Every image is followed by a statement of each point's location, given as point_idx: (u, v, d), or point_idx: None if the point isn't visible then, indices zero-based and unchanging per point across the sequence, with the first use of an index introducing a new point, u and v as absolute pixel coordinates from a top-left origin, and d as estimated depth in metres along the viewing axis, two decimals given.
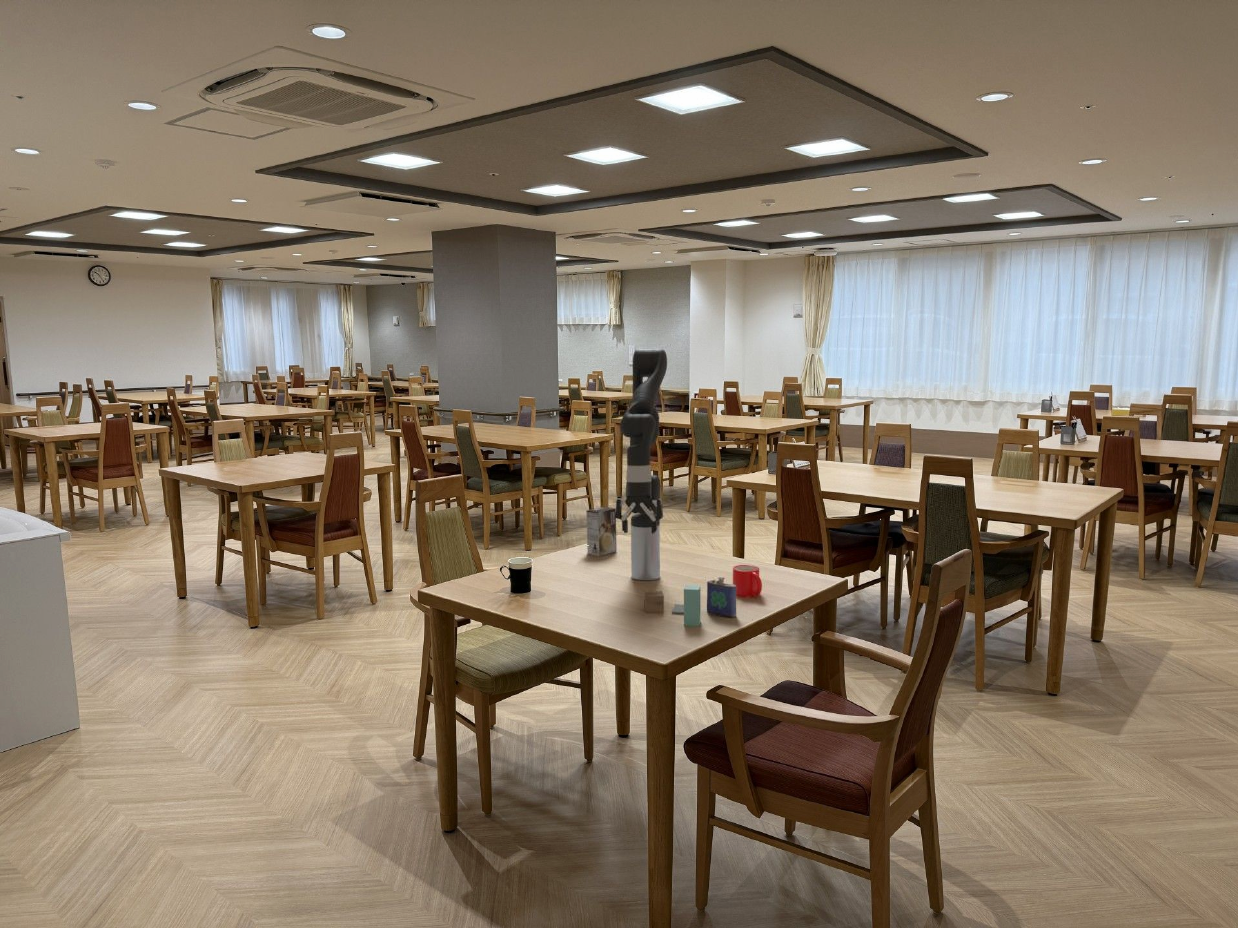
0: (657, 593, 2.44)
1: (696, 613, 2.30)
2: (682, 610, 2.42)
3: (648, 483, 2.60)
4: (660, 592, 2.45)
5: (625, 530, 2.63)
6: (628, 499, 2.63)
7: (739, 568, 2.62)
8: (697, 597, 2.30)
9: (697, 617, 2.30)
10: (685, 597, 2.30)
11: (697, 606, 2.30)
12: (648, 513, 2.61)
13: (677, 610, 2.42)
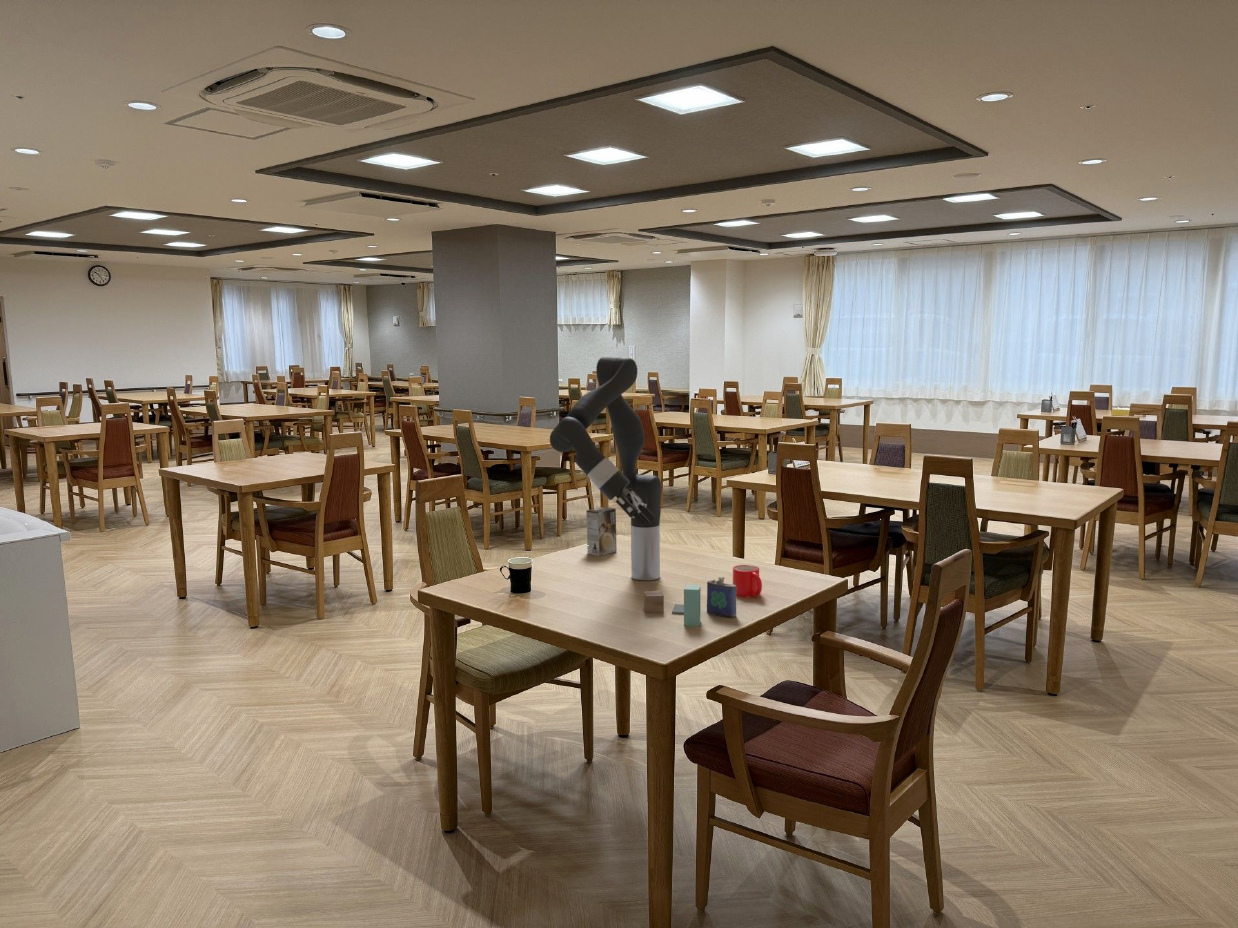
0: (657, 593, 2.44)
1: (696, 613, 2.30)
2: (682, 610, 2.42)
3: (603, 487, 2.30)
4: (660, 592, 2.45)
5: None
6: None
7: (739, 568, 2.62)
8: (697, 597, 2.30)
9: (697, 617, 2.30)
10: (685, 597, 2.30)
11: (697, 606, 2.30)
12: None
13: (677, 610, 2.42)
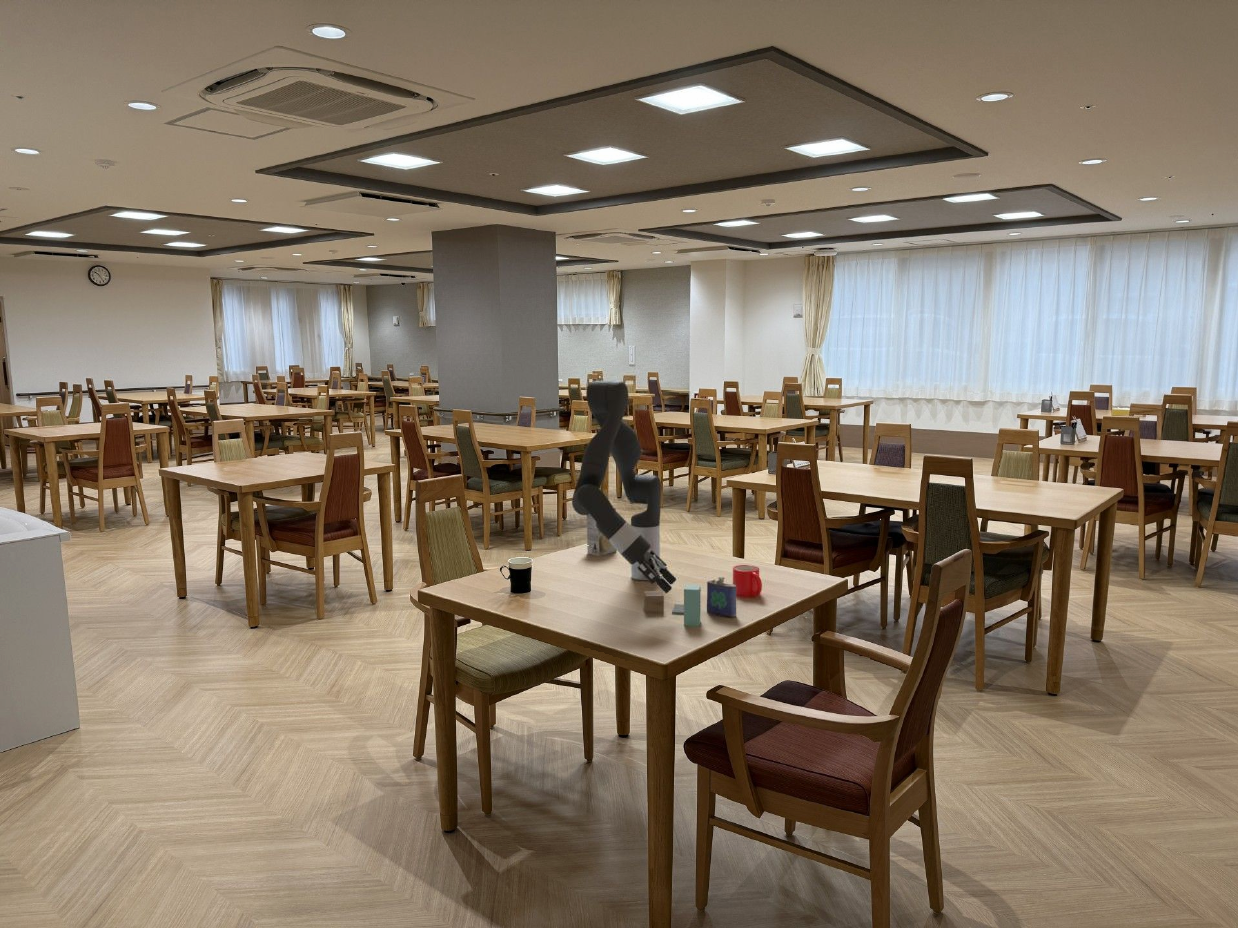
0: (657, 593, 2.44)
1: (696, 613, 2.30)
2: (682, 610, 2.42)
3: (625, 552, 2.30)
4: (660, 592, 2.45)
5: (668, 582, 2.37)
6: None
7: (739, 568, 2.62)
8: (697, 597, 2.30)
9: (697, 617, 2.30)
10: (685, 597, 2.30)
11: (697, 606, 2.30)
12: None
13: (677, 610, 2.42)
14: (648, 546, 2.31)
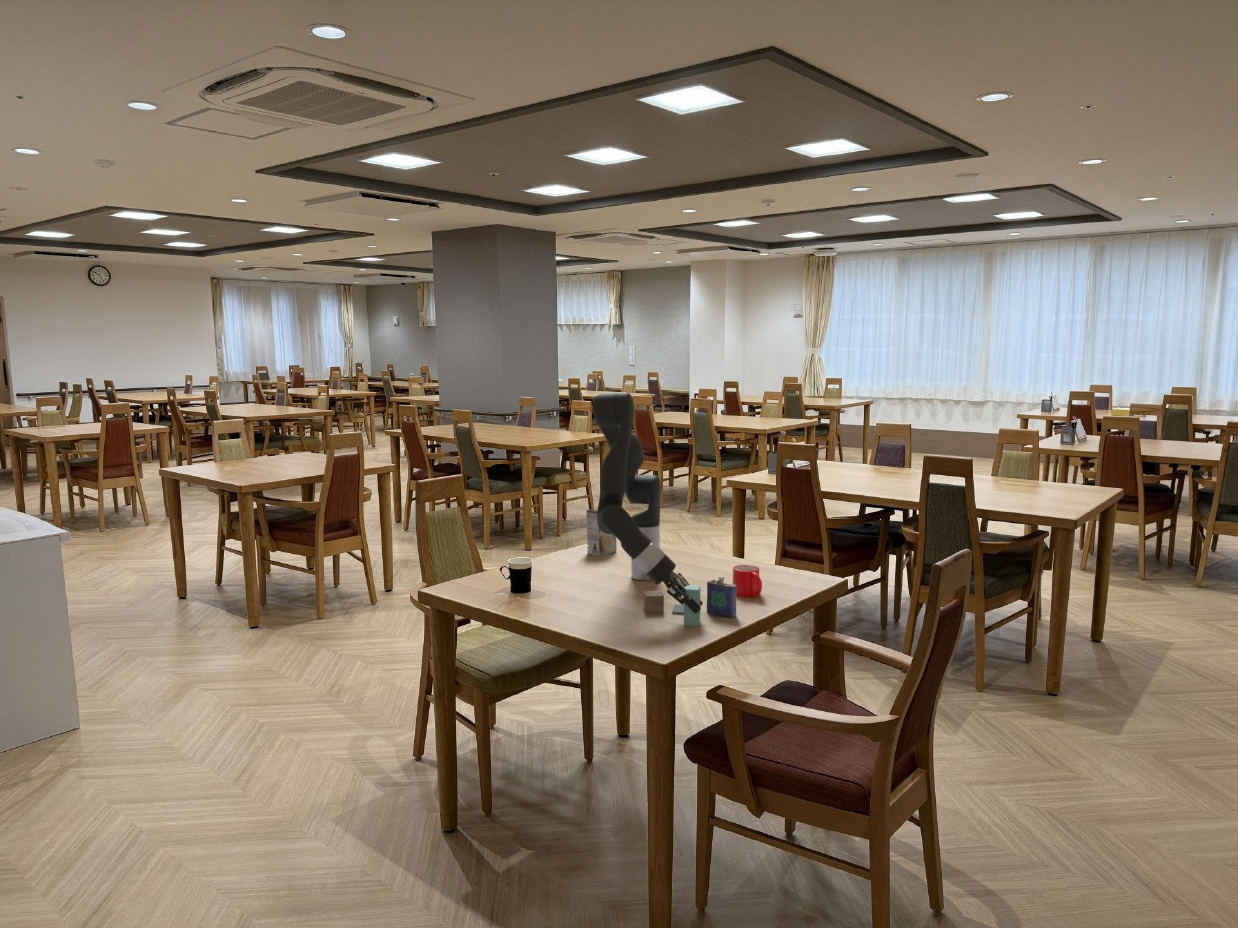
0: (657, 593, 2.44)
1: (696, 613, 2.30)
2: (682, 610, 2.42)
3: (650, 572, 2.30)
4: (660, 592, 2.45)
5: None
6: None
7: (739, 568, 2.62)
8: (697, 597, 2.30)
9: (697, 617, 2.30)
10: None
11: None
12: None
13: (677, 610, 2.42)
14: (673, 566, 2.31)
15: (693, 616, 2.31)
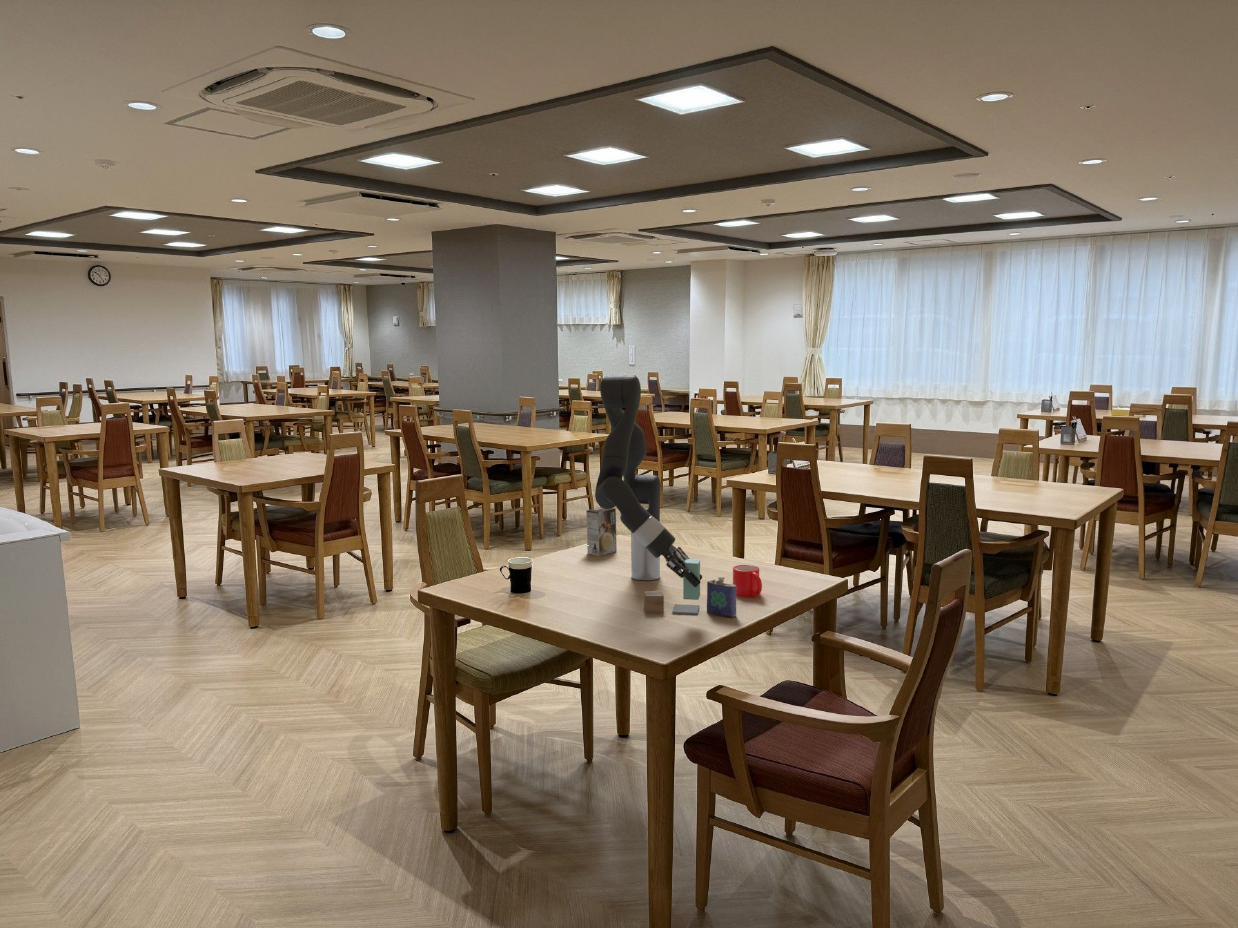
0: (657, 593, 2.44)
1: (695, 587, 2.30)
2: (682, 610, 2.42)
3: (649, 546, 2.29)
4: (660, 592, 2.45)
5: None
6: None
7: (739, 568, 2.62)
8: (696, 571, 2.29)
9: (696, 591, 2.30)
10: None
11: None
12: None
13: (677, 610, 2.42)
14: (673, 539, 2.30)
15: (693, 590, 2.30)
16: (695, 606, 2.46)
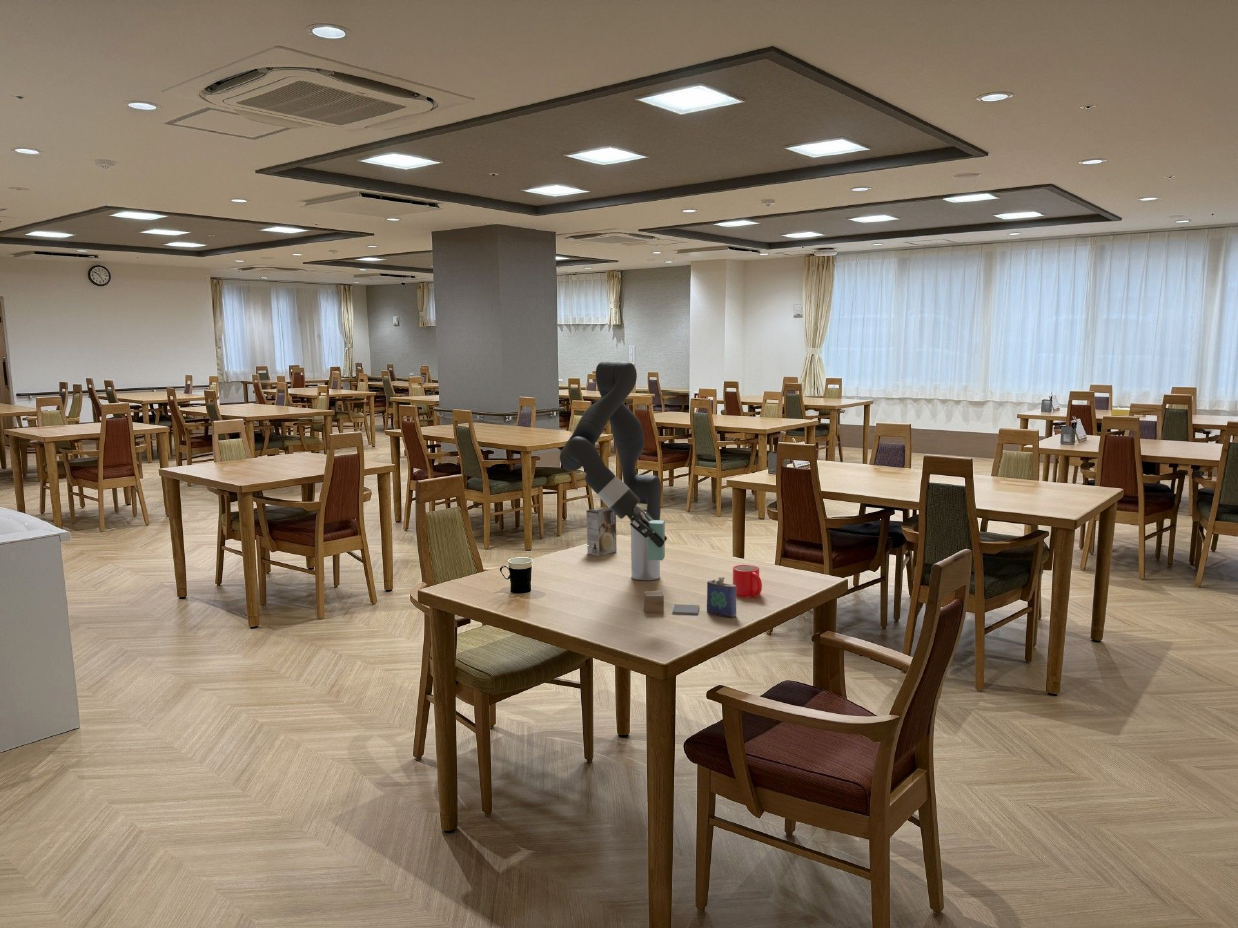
0: (657, 593, 2.44)
1: (660, 547, 2.30)
2: (682, 610, 2.42)
3: (614, 506, 2.29)
4: (660, 592, 2.45)
5: None
6: None
7: (739, 568, 2.62)
8: (661, 531, 2.29)
9: (661, 551, 2.30)
10: None
11: None
12: None
13: (677, 610, 2.42)
14: (637, 500, 2.30)
15: (657, 550, 2.30)
16: (695, 606, 2.46)
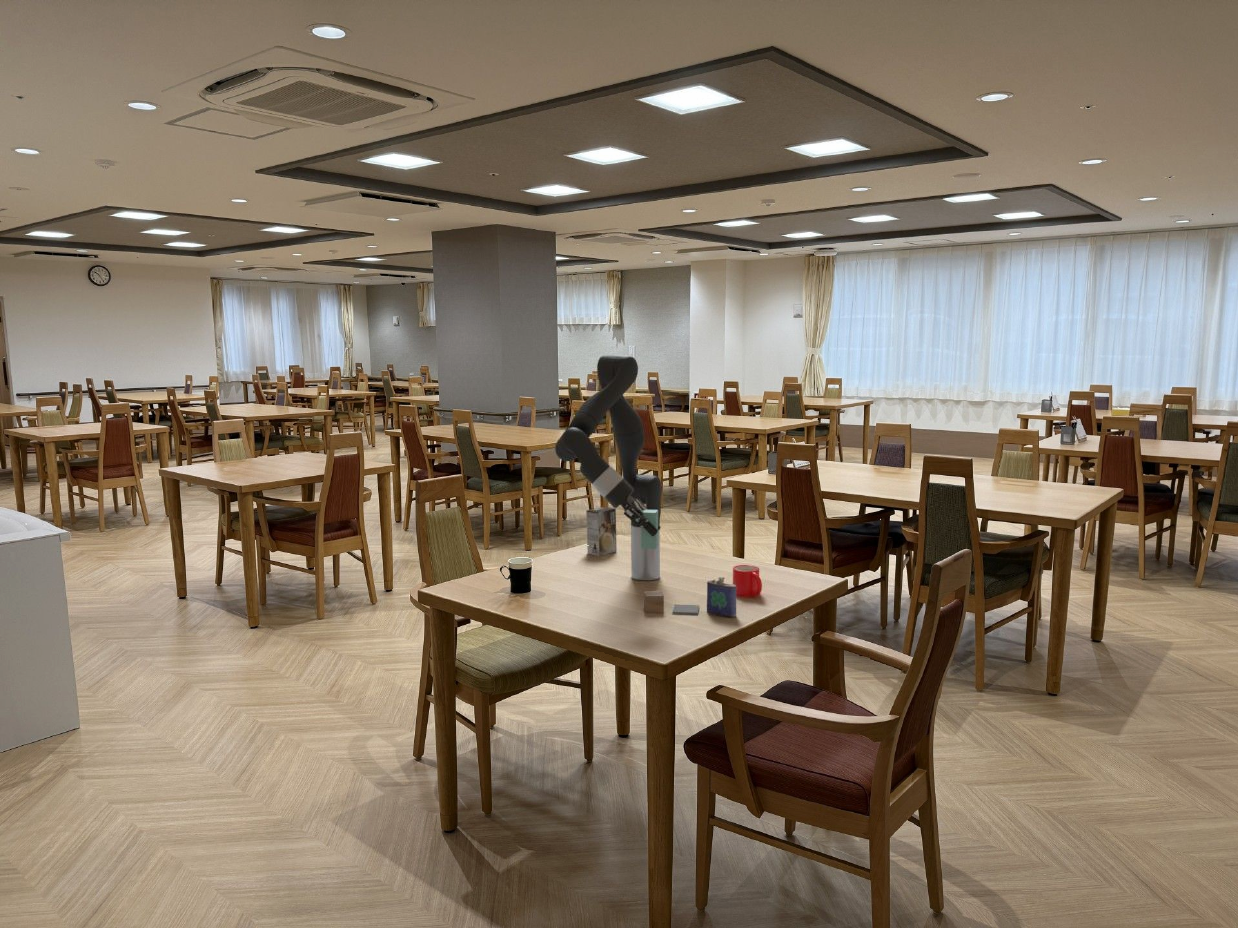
0: (657, 593, 2.44)
1: (653, 536, 2.34)
2: (682, 610, 2.42)
3: (608, 495, 2.33)
4: (660, 592, 2.45)
5: None
6: None
7: (739, 568, 2.62)
8: (654, 520, 2.33)
9: (654, 540, 2.34)
10: None
11: None
12: None
13: (677, 610, 2.42)
14: (631, 489, 2.34)
15: (650, 539, 2.34)
16: (695, 606, 2.46)
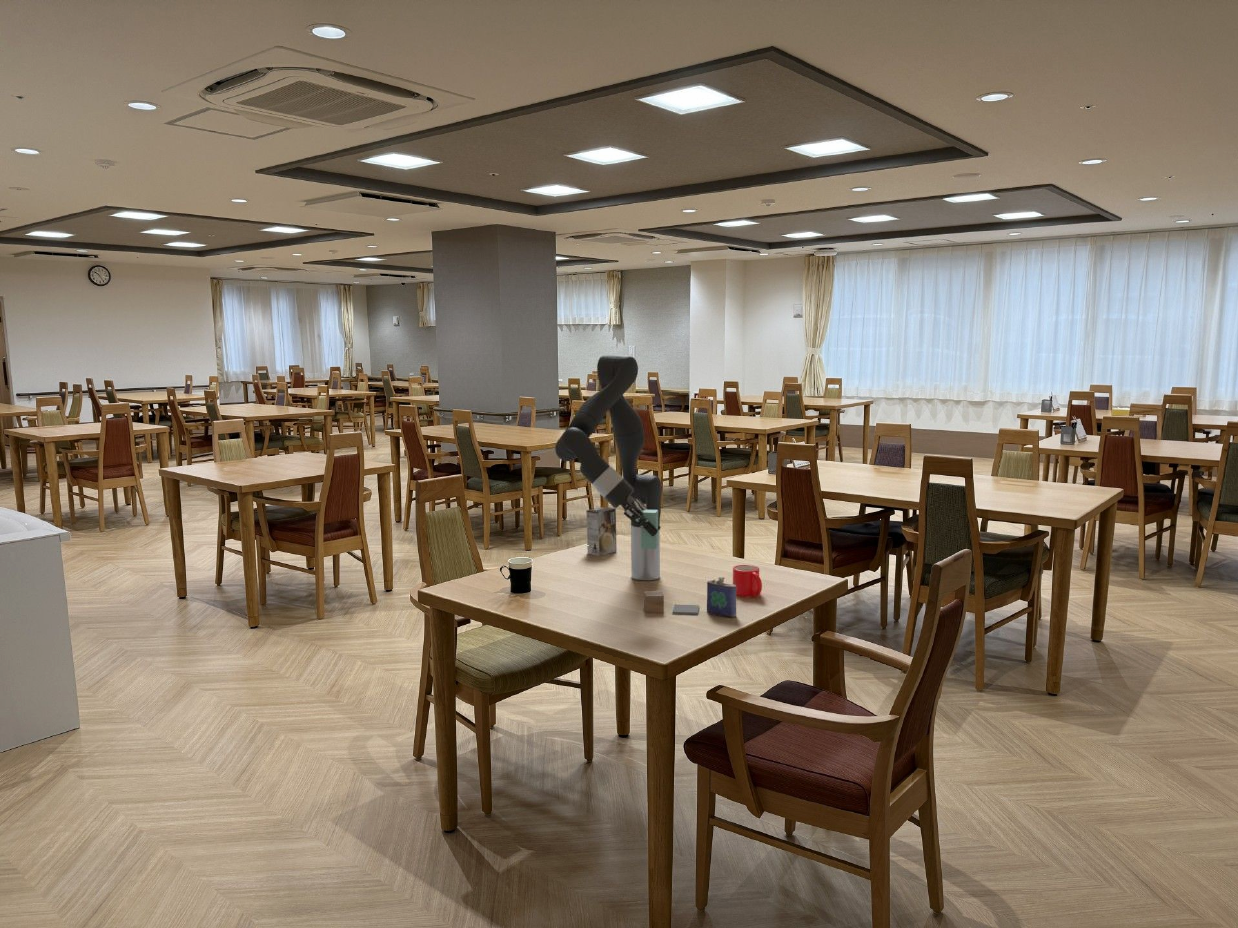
0: (657, 593, 2.44)
1: (653, 536, 2.34)
2: (682, 610, 2.42)
3: (608, 495, 2.33)
4: (660, 592, 2.45)
5: None
6: None
7: (739, 568, 2.62)
8: (654, 520, 2.33)
9: (654, 540, 2.34)
10: None
11: None
12: None
13: (677, 610, 2.42)
14: (631, 489, 2.34)
15: (650, 539, 2.34)
16: (695, 606, 2.46)
